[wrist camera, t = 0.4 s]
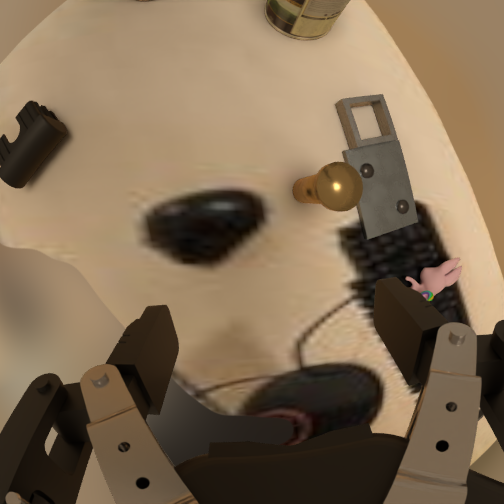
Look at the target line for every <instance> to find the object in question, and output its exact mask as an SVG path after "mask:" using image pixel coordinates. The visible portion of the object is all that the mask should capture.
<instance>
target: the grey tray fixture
mask: <svg viewBox="0 0 504 504" xmlns="http://www.w3.org/2000/svg"><path fill="white" fill-rule="evenodd" d="M367 105H372V106H373V109H374V112H375V115H376V118H377V121H378V124H379V127H380V130H381V133H382V136H381V137H375V138H370V139H365V140H361V138H360V135H359V131H358V128H357V125H356V122H355V119H354V116H353V113H352V111H351V108H352V107H359V106H367ZM335 106H336V109H337V112H338V115H339V118H340V121H341V124H342V127H343V130H344V133H345V136H346V139H347V142H348V145H349V149H350V150H346V151H343V152H342V153H343V156H344V160H345V163H347V164H349V165H351V166H352V167H354V168H355V169H356V170H357V172H358V173H359V175H360V177H361V179H362V183H363V193H362V197H361V199H360V201H359V202H358V204H357V208H358V213H359V217H360V221H361V225H362V230H363V235H364V239H370V238H373V237H376V236H379V235H382V234H385V233H388V232H391V231H393V230H396V229H399V228H402V227H405V226H408V225H411V224H413V223H416V222H418V219H417V213H416V208H415V203H414V198H413V193H412V189H411V185H410V180H409V176H408V172H407V168H406V164H405V160H404V157H403V153H402V149H401V146H400V142H399V140H398V138H397V135H396V131H395V128H394V125H393V122H392V119H391V116H390V113H389V110H388V107H387V104H386V102H385V99H384V96H383V94H380V95H370V96H361V97H353V98H345V99H341V100H340V101H339V102H337V103H336V104H335ZM395 140H396V141H395Z"/></svg>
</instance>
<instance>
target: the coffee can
mask: <svg viewBox="0 0 504 504" xmlns="http://www.w3.org/2000/svg"><path fill="white" fill-rule="evenodd" d="M349 1H350V0H267V3H266V5H265V16H266V18H267V20H268V22H269V23H270V24H271V25H272V27H274V28H275V29H276V30H277V31H279V32H280V33H282V34H284V35H286V36H288V37H291V38H295V39H300V40H314V39H318V38H321V37H323V36H325V35H326V34H327V33H328V32H329V31H330V29H331V27H332V25H333V24H334V22H335V21H336V20H337V18H338V17H339V15H340V14H341V12H342V11H343V10H344V8H345V7H346V5H347V4H348V3H349Z"/></svg>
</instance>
